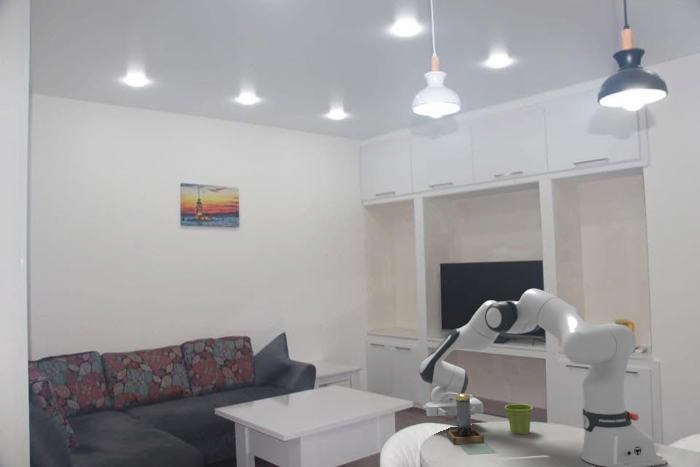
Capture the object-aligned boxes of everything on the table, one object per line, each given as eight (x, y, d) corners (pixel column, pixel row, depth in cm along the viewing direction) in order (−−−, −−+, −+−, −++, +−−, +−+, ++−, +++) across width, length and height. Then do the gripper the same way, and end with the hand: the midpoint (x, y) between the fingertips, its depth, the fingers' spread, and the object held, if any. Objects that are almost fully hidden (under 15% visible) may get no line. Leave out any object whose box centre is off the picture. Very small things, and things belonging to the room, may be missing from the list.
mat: (487, 445, 185) (487, 444, 185) (496, 454, 176) (496, 452, 176) (460, 447, 184) (460, 445, 184) (468, 456, 175) (468, 454, 176)
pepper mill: (470, 436, 194) (467, 392, 195) (474, 440, 189) (471, 395, 190) (456, 437, 193) (453, 393, 194) (459, 441, 189) (457, 396, 190)
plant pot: (500, 432, 200) (499, 407, 200) (517, 427, 205) (515, 402, 206) (523, 438, 192) (521, 411, 193) (539, 432, 198) (538, 406, 199)
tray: (476, 436, 196) (475, 428, 196) (484, 444, 187) (483, 436, 187) (447, 438, 195) (446, 430, 195) (453, 446, 186) (453, 438, 186)
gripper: (421, 397, 211) (429, 405, 198) (475, 394, 213) (487, 402, 199) (422, 414, 211) (430, 424, 197) (476, 411, 213) (488, 420, 199)
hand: (459, 413), depth 198 cm, fingers open, 8 cm apart
